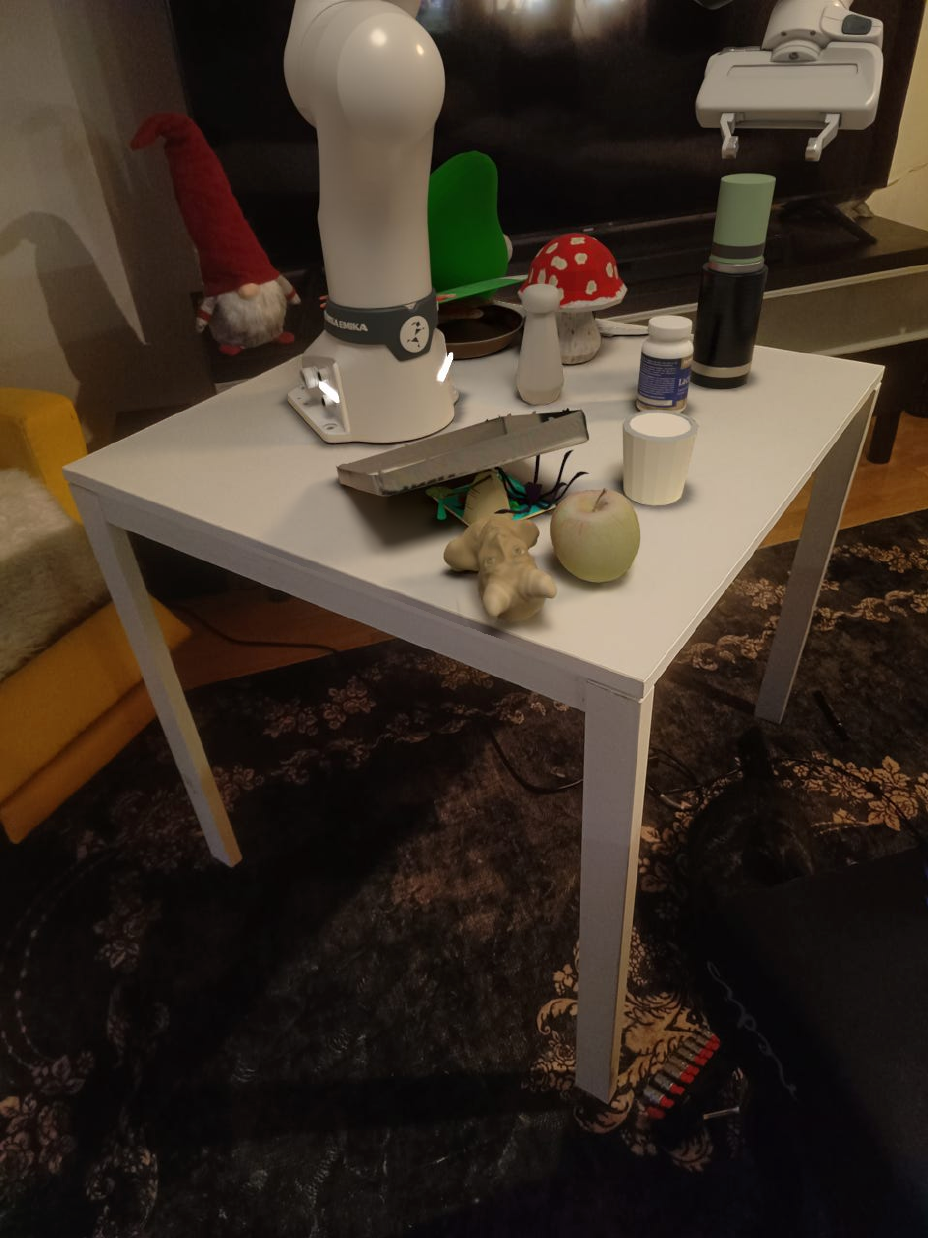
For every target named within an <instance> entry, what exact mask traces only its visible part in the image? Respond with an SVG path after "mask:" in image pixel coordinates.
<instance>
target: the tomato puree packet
mask: <svg viewBox="0 0 928 1238" xmlns="http://www.w3.org/2000/svg"><path fill="white" fill-rule="evenodd" d="M527 277H528V274H521V275H512V276H505V277H503V278H497V279H491V280H486V281H482V282H478V283H474V284H469V285H465V286H461V287H457V288H454V289H450V290H446V291H443V292H439V293H436V299H437V301H438V304H439V303H443V302H447V301H450V300H454V299H458V298H462V297H465V296H469V295H473V294H477V293H481V292H485V291H488V290H492V289H496V288H498V289H500V288H503V287H507V286H511V285H514V284H518V283H521V282H525V281H526V280H527Z"/></svg>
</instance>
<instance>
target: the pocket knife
mask: <svg viewBox="0 0 928 1238" xmlns="http://www.w3.org/2000/svg"><path fill="white" fill-rule="evenodd" d="M597 327H598V329H599V332H600V336H604V337H609V338H611V337H613V336H615V335H645V334H647V335H648V334H649V333H648V332H647V330H648V329H644V328H643V329H640V328H639V329H638V328H626V327H625V328H623V327H615V326H597Z"/></svg>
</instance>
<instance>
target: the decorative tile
mask: <svg viewBox="0 0 928 1238" xmlns="http://www.w3.org/2000/svg"><path fill="white" fill-rule="evenodd" d="M579 408H580V409H575V410H570V409H569V407H567V408H566V409H563V410H562V411H552V412H539V413H537V412H536V410H533V411H532V412H531V413H527V414H526V413H525V414H515V415H512V413H511V412H510V413H507V415H504V416H503V415H500V414H498V415H497V416H498V417H495V418H492V419H489V418H486V419H485V421H481V422H478V423H476V424H472V425H469V426H465V427H462V428H459V429H456V430H453V431H449V432H446V433H443V434H440V435H436V436H433V437H430V438H425V439H423V440H420V441H416V442H414V443H413V442H412V443H409V444H408V443H404V445H403V446H400V447H397V448H394V449H391V450H387V451H385V452H381V453H378V454H375V455H371V456H368V457H364V458H362V459H358V460H355V461H352V462H349V463H341V464H340V465H335V467H336V471H337V476H338V481H339V483H340V484H341V485H345V486H348V487H351V488H353V489H356V490H359V491H362V492H366V493H370V494H372V495H376V496H380V497H391V496H395V495H399V494H403V493H406V492H409V491H412V490H415V489H416V490H417V489H420V488H424V487H428V486H431V485H434V484H439V483H441V482H445V481H448V480H453V479H457V478H460V477H464V476H467V475H471V474H475V473H480V472H481V471H482V470H486V469H492V468H493V469H494V467H497V466H499V467H502V466H504V465H508V464H511V463H515V462H518V461H523V460H526V459H530V458H533V457H536V456H537V455H540V456H541V455H544V454H548V453H551V452H555V451H559V450H562V449H566V448H569V447H570V448H571V447H574V446H577V445H582V444H585V443H587V442H589V441H590V434H589V431H588V426H587V425H588V424H587V418H586V414H585V412H584V411H583V409H582V407H579Z"/></svg>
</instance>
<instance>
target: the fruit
mask: <svg viewBox="0 0 928 1238" xmlns="http://www.w3.org/2000/svg"><path fill="white" fill-rule="evenodd" d="M549 536H550V540H551V545H552V549H553V551H554V553H555V555H556V557H557V559H558V560H559V562H560V564H561V565H562V566H563V568H565V570H567V571H568V572H569V573H571V574H572V575H573V576H575V577H577V578H578V579H580V580H583V581H587V582H589V583H590V582H591V583H604V582H609V581H613V580H616V579H618V578H619V577H621V576H622V575H623V574H625V573H626V572H627V571H628V570H629V569H630V567H632V565H633V563H634V562H635V559H636V558H637V555H638V552H639V549H640V544H641V527H640V523H639V518H638V514H637V512H636V510H635V507H634V506H633V504H632V503H631V502H630V499H629V498H628V497H627V496H624V495H623V494H621V493H619V492H617V491H614V490H610V489H607V488H606V487H603V489H587V490H586V489H585V490H580V491H575V492H573V493H570V494H569V495H568V496H565V497H564V498H563V499H561V500H560V502H559V503H558V504H557V505H556V507H555V509H554V510H553V513H552V516H551V518H550V524H549Z"/></svg>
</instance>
